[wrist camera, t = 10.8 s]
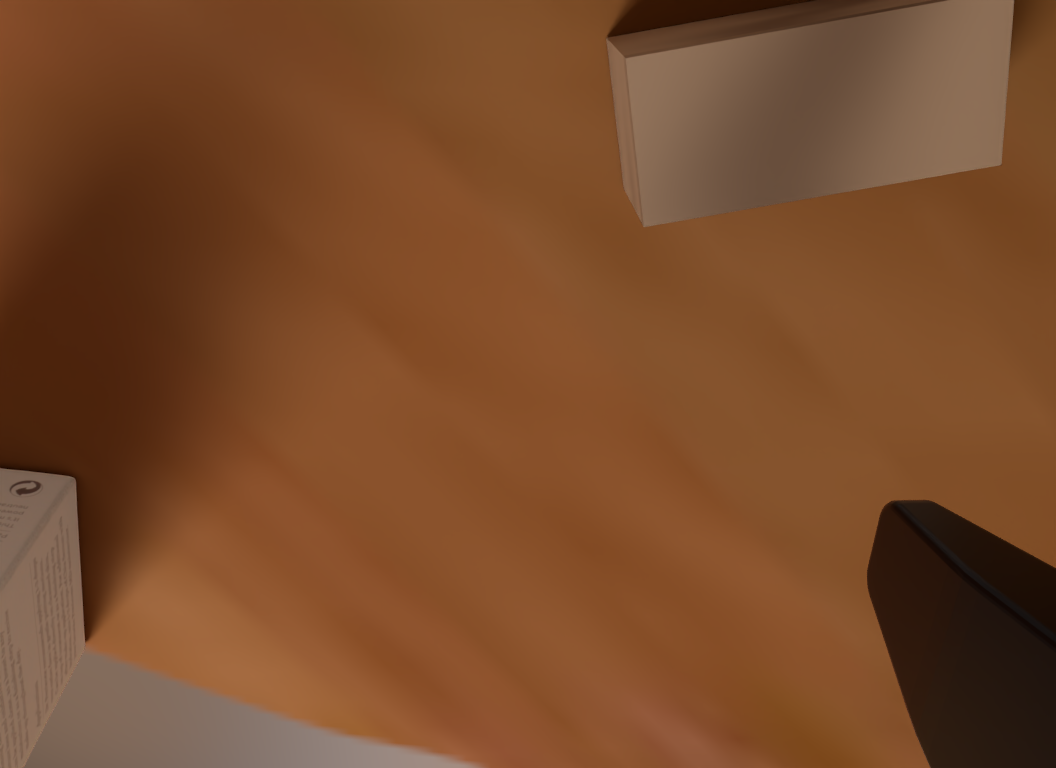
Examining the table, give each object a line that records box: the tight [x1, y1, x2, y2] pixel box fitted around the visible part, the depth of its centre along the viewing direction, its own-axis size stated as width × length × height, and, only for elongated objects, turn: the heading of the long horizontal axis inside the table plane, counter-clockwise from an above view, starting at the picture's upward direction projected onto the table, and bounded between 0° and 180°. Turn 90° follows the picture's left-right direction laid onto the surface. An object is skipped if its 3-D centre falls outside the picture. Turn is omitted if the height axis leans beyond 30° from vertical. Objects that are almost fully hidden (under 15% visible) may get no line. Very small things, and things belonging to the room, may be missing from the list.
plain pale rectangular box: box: [606, 0, 1014, 227], centre depth 19 cm, size 7×3×3 cm, turn 99°
